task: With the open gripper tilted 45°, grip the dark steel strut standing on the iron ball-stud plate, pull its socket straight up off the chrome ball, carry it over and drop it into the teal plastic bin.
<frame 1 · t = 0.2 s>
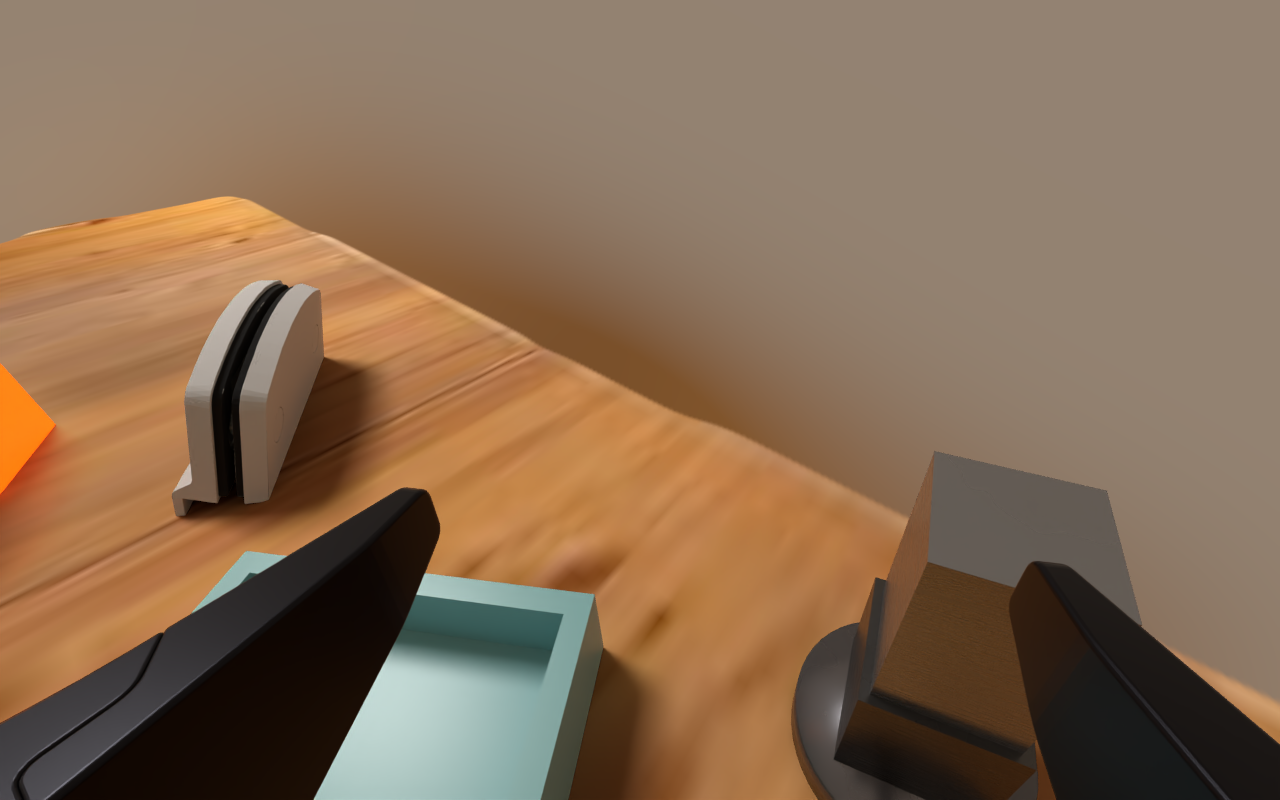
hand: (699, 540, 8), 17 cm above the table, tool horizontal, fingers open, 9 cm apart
magnetic glass cleaner: (285, 423, 39), on the table
stud plate: (899, 740, 21), on the table
strut: (909, 722, 20), point 1 cm above the table, touching stud plate
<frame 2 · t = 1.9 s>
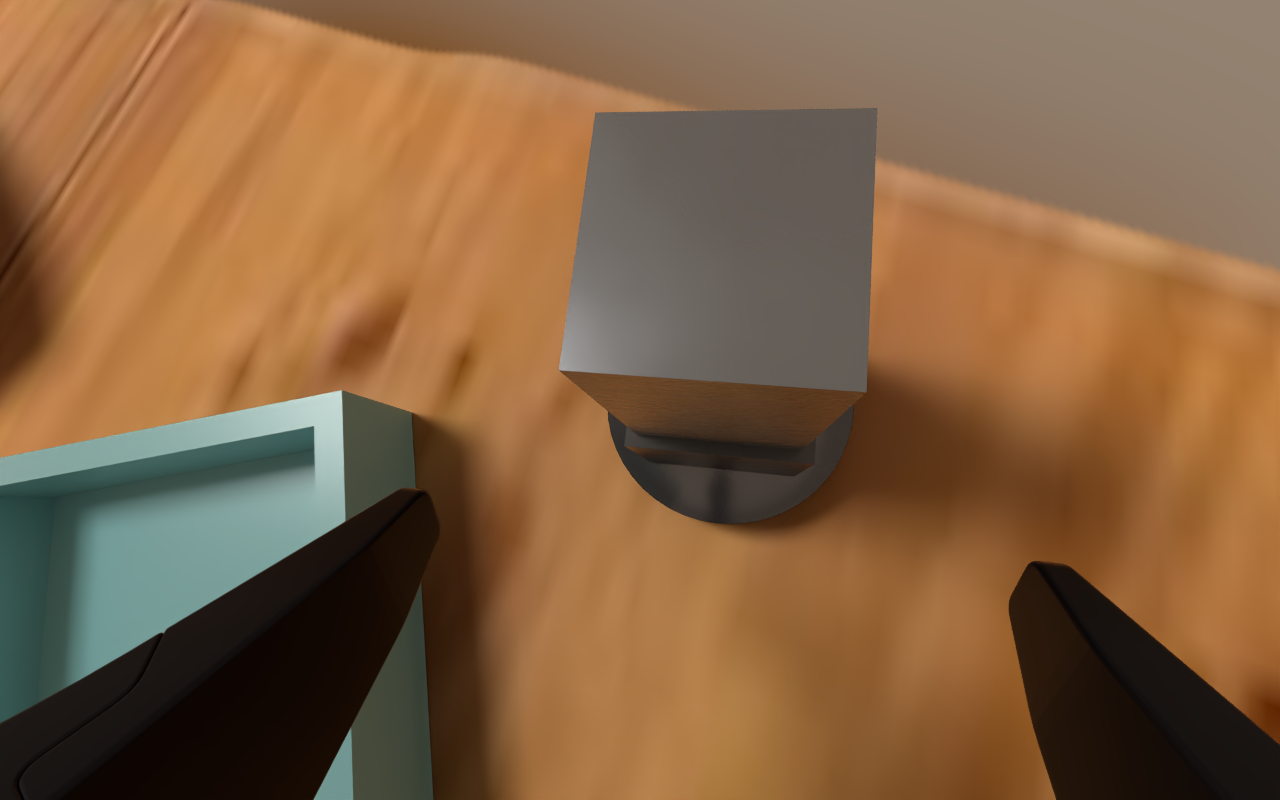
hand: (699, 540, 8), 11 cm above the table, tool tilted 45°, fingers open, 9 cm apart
stud plate: (726, 407, 20), on the table
bin: (226, 655, 21), on the table
strut: (726, 399, 18), point 1 cm above the table, touching stud plate
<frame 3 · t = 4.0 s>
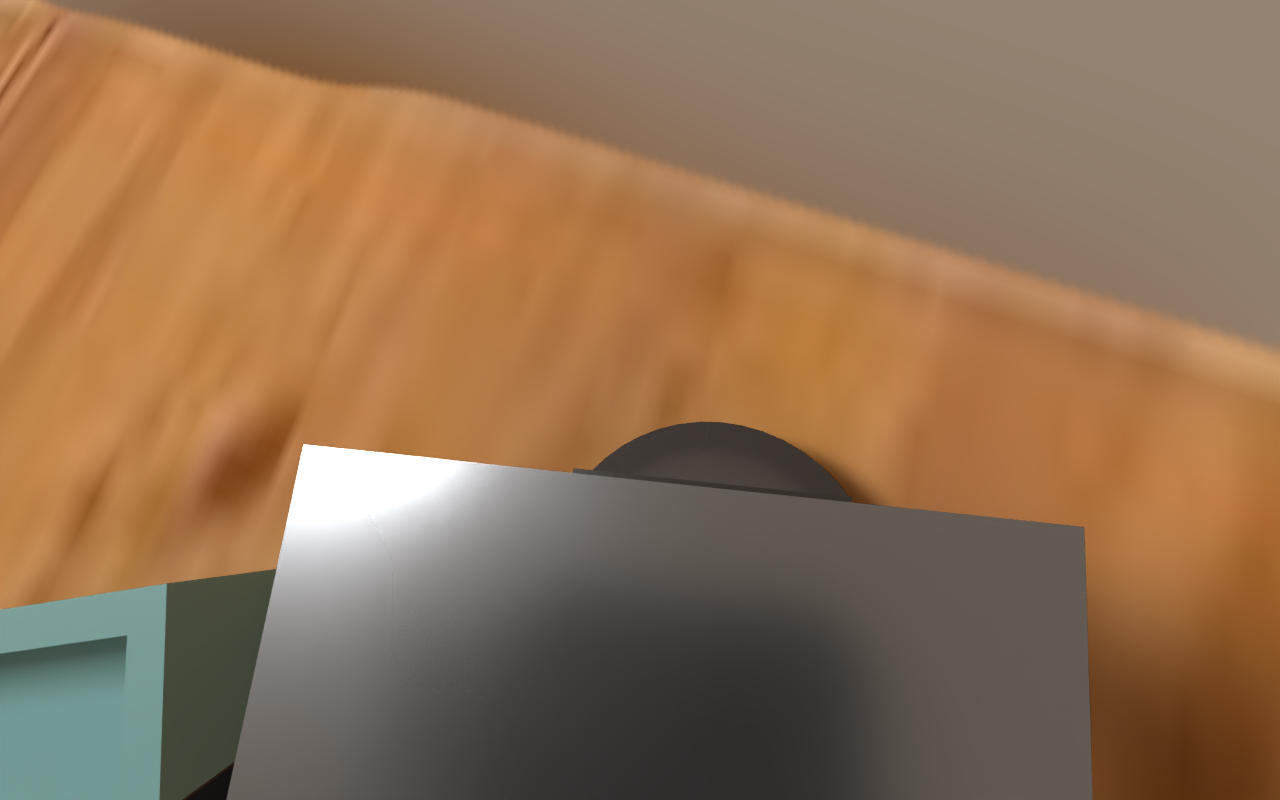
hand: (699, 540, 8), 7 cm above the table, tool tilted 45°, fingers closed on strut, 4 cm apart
stud plate: (709, 580, 15), on the table
strut: (706, 588, 13), point 2 cm above the table, touching gripper, stud plate
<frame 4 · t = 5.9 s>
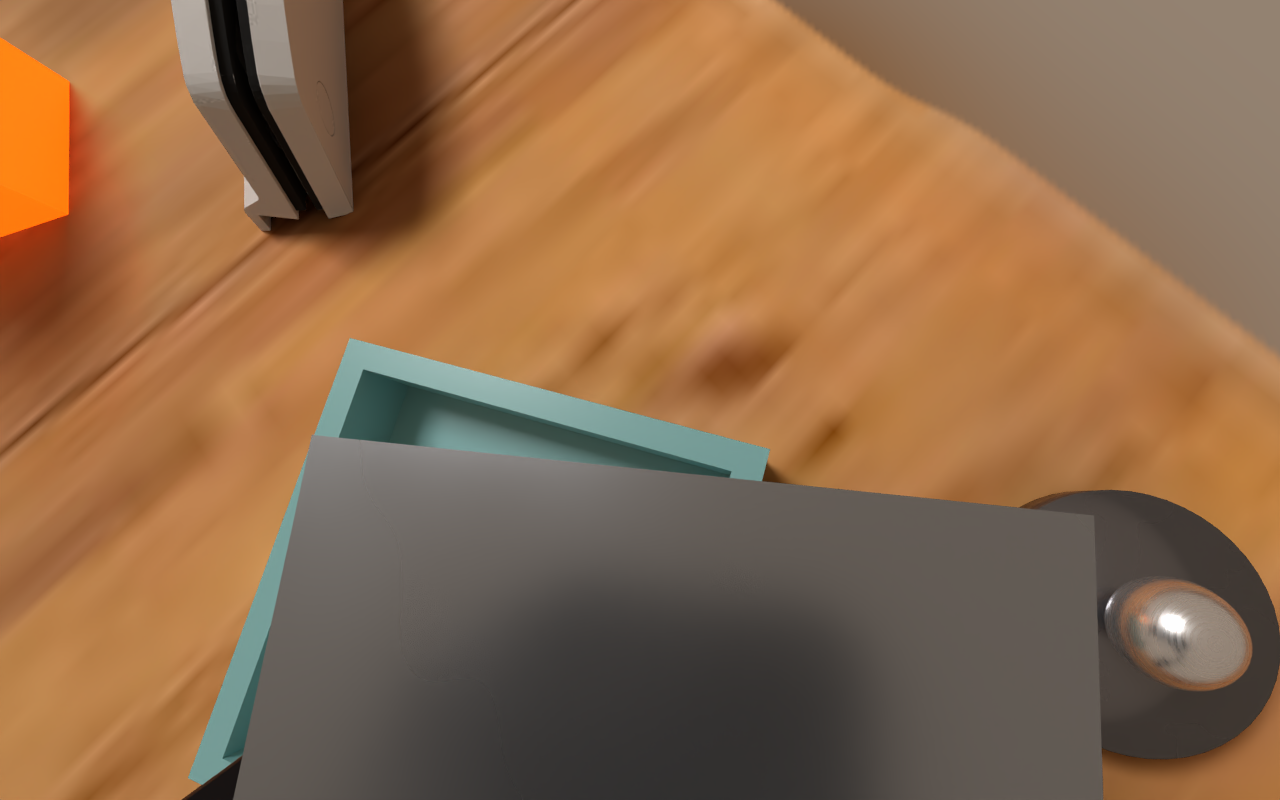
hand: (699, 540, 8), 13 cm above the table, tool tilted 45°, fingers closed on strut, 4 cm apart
magnetic glass cleaner: (331, 81, 29), on the table
stud plate: (1098, 609, 19), on the table
bin: (515, 598, 22), on the table
orange juice: (17, 168, 32), on the table
strut: (708, 586, 13), point 8 cm above the table, touching gripper
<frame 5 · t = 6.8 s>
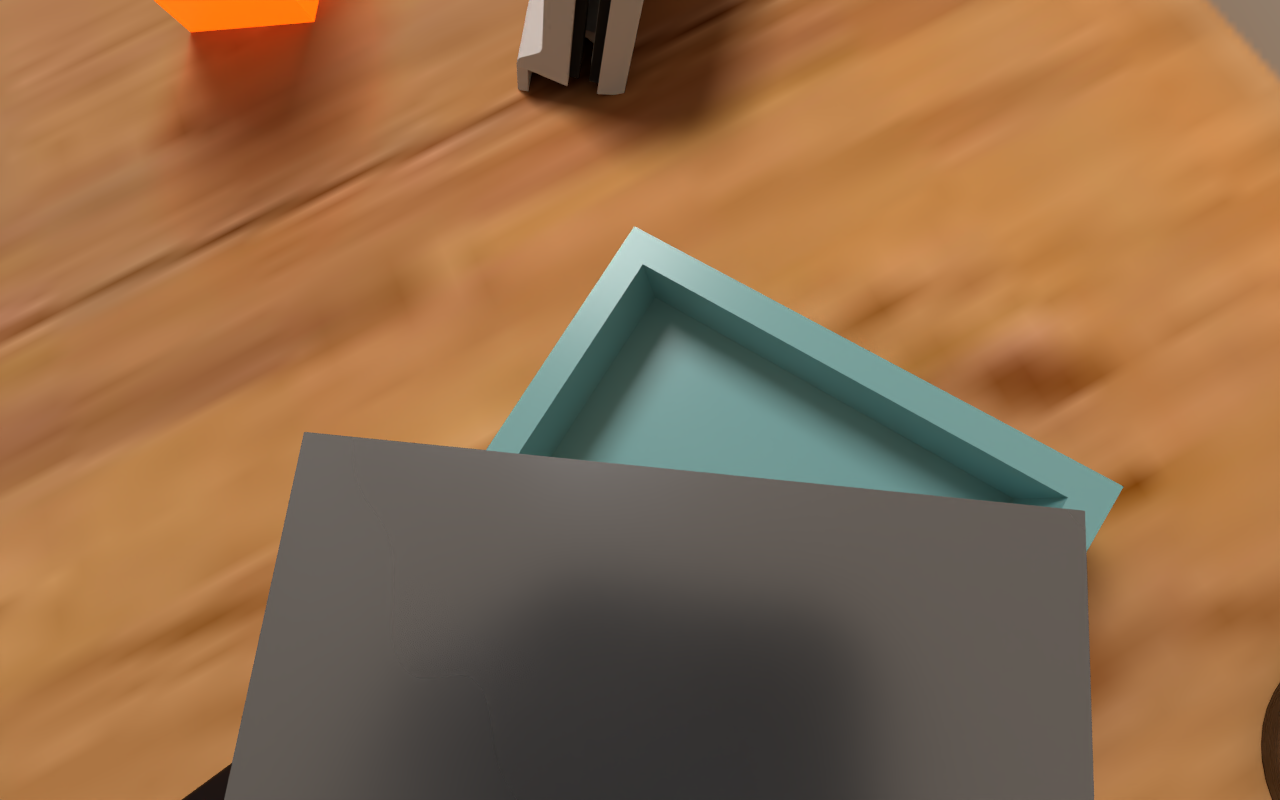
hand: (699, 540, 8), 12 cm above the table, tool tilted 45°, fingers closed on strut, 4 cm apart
bin: (715, 556, 20), on the table
strut: (706, 585, 13), point 7 cm above the table, touching gripper
when the fingers open (8 cm above the table, at t = 7.8 s): strut drops 2 cm, resting on bin.
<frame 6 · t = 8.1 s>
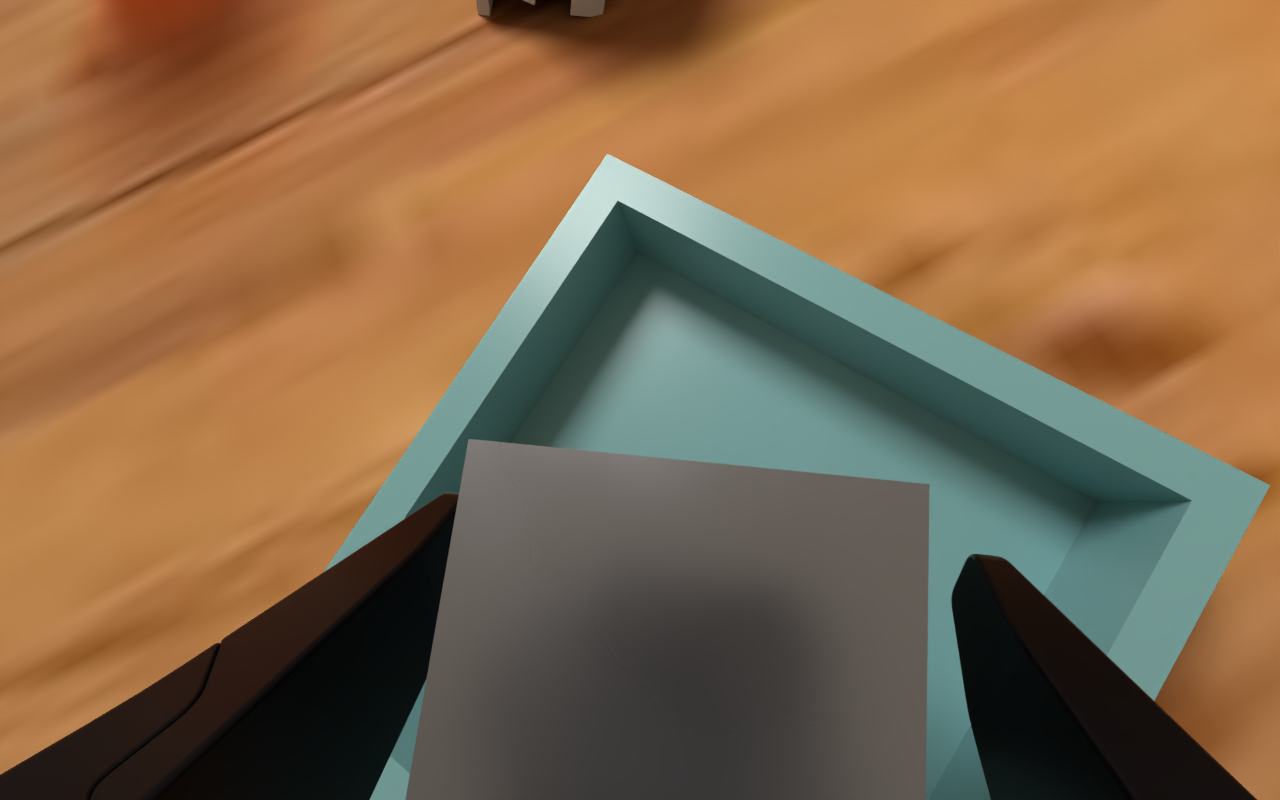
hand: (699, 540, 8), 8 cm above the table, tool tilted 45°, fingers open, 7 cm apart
bin: (711, 573, 16), on the table
strut: (709, 576, 15), point 1 cm above the table, touching bin
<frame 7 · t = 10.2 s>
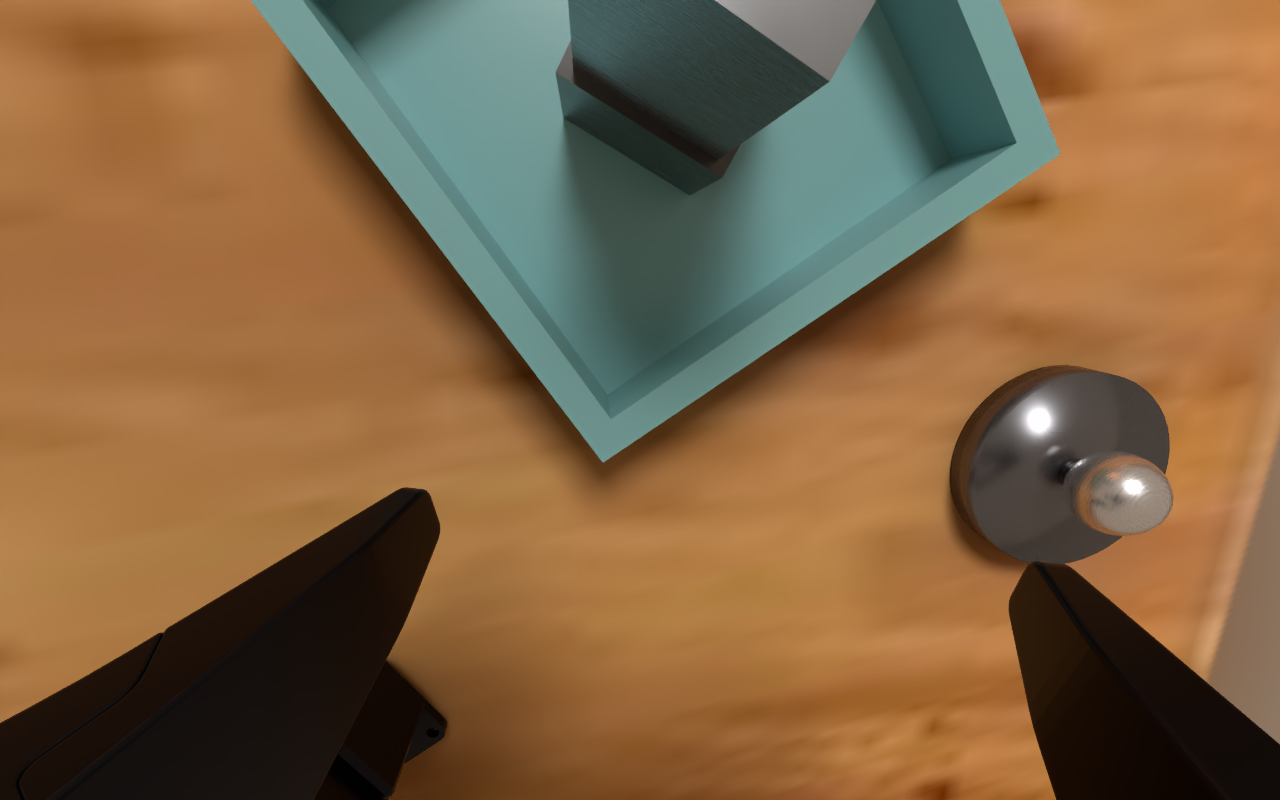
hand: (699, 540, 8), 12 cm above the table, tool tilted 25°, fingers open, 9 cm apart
stud plate: (1042, 459, 23), on the table
bin: (658, 98, 18), on the table
strut: (663, 88, 17), point 1 cm above the table, touching bin
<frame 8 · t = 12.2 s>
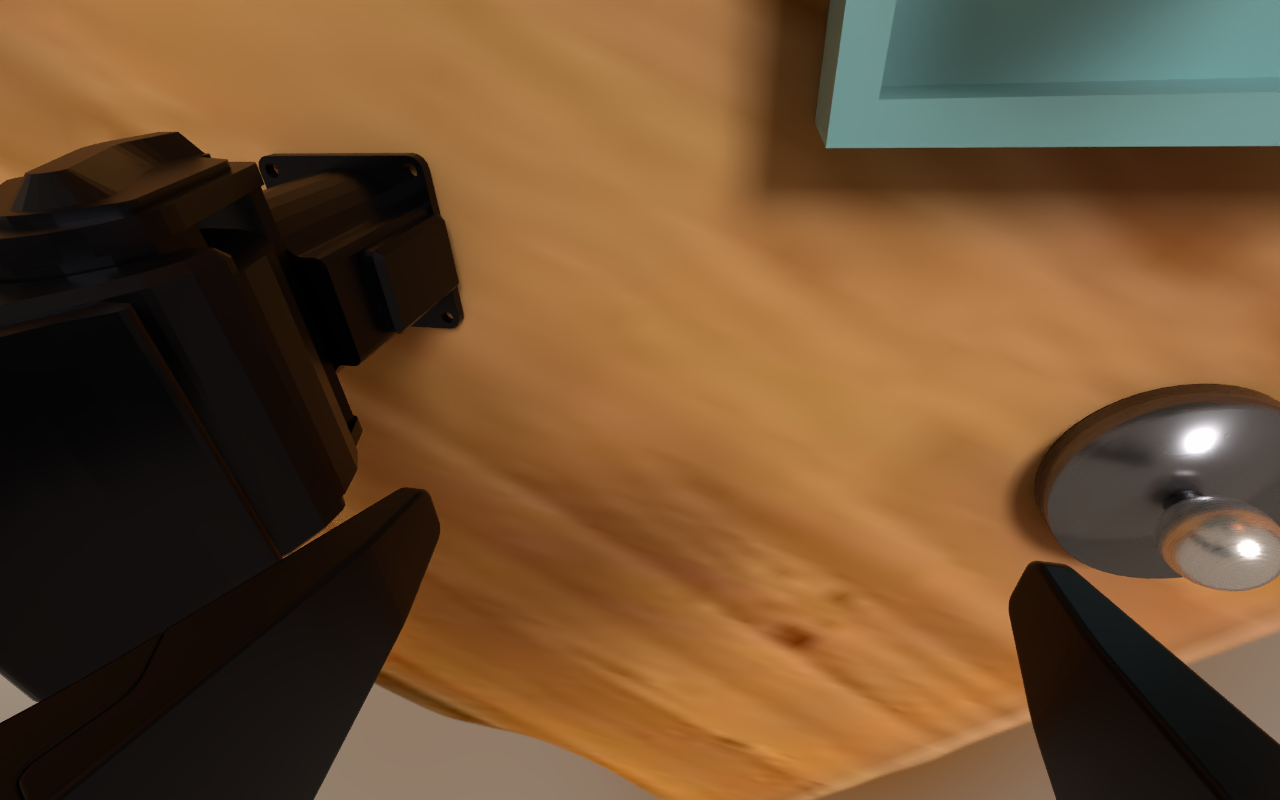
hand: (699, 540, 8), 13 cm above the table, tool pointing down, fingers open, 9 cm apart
stud plate: (1159, 474, 21), on the table
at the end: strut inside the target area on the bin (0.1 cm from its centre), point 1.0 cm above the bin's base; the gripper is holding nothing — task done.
